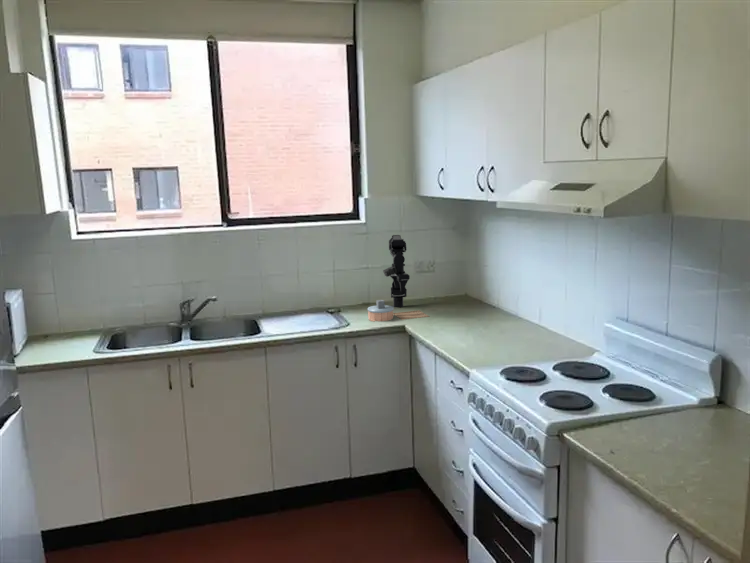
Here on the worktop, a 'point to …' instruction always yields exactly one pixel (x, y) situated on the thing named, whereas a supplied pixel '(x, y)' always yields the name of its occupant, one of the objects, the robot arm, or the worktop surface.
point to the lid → (380, 307)
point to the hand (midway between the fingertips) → (399, 289)
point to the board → (410, 315)
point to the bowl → (380, 316)
